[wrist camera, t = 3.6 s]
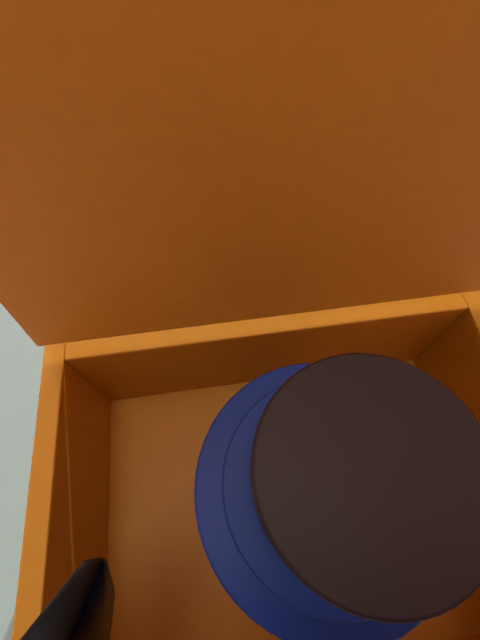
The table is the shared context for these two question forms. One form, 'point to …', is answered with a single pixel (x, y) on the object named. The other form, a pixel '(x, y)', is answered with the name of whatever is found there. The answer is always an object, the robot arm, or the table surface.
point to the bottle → (342, 499)
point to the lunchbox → (193, 453)
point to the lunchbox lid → (233, 159)
